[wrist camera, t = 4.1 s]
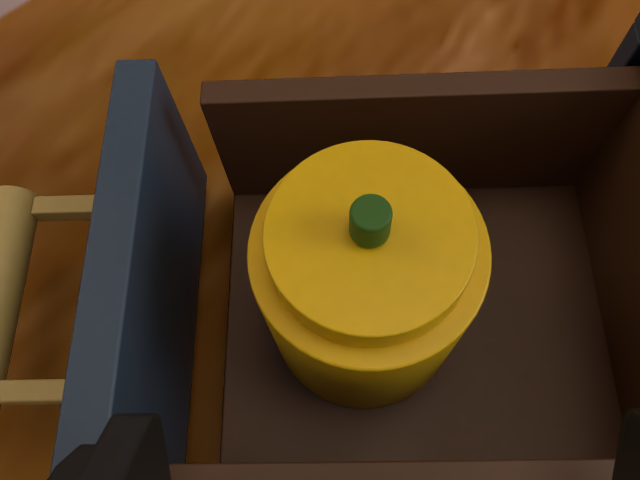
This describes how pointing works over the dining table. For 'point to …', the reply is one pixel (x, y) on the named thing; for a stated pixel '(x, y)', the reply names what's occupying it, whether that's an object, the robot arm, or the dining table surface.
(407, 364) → the yellow cylinder
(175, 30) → the dining table surface
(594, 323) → the drawer
